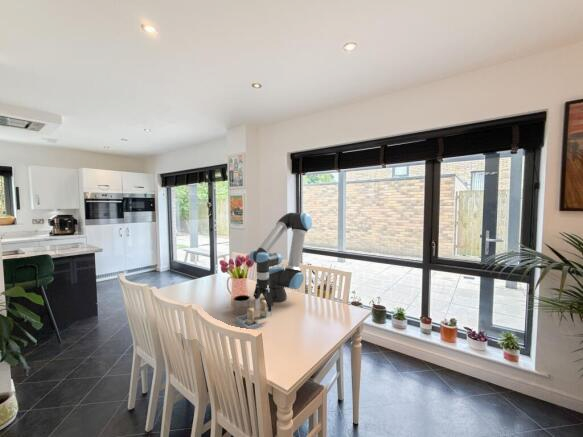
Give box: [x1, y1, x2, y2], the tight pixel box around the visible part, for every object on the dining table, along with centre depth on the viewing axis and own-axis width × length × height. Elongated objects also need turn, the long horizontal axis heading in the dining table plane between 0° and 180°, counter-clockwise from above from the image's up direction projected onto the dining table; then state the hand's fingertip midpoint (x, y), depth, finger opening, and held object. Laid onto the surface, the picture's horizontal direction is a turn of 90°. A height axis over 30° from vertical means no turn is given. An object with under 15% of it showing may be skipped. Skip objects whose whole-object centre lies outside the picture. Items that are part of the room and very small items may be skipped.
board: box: [232, 314, 264, 330], centre depth 149 cm, size 12×16×3 cm
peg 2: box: [259, 299, 268, 319], centre depth 158 cm, size 4×4×10 cm
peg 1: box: [247, 307, 255, 326], centre depth 145 cm, size 4×4×10 cm
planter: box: [232, 294, 252, 316], centre depth 165 cm, size 11×11×10 cm
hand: (263, 312), depth 158 cm, fingers open, 13 cm apart
